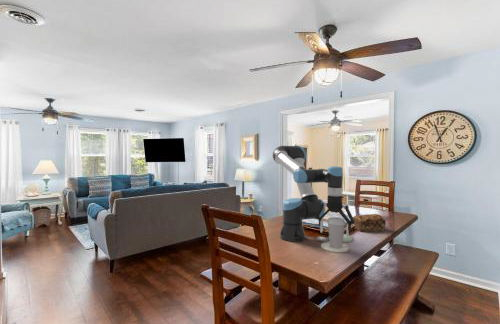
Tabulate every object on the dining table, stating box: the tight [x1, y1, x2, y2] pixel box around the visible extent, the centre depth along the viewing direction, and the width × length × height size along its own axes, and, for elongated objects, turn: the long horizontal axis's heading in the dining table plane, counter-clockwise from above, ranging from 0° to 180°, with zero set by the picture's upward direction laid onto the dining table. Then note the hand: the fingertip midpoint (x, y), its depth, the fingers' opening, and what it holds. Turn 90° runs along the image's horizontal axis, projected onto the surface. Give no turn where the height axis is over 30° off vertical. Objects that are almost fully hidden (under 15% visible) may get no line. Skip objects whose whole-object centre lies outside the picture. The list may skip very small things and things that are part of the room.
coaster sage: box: [343, 233, 354, 243], centre depth 150 cm, size 14×14×1 cm
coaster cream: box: [320, 241, 349, 254], centre depth 135 cm, size 14×14×1 cm
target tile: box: [314, 235, 330, 243], centre depth 148 cm, size 7×7×1 cm
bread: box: [352, 213, 387, 233], centre depth 169 cm, size 19×11×10 cm, turn 96°
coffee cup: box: [326, 216, 347, 249], centre depth 134 cm, size 10×10×15 cm
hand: (334, 234), depth 135 cm, fingers open, 13 cm apart
